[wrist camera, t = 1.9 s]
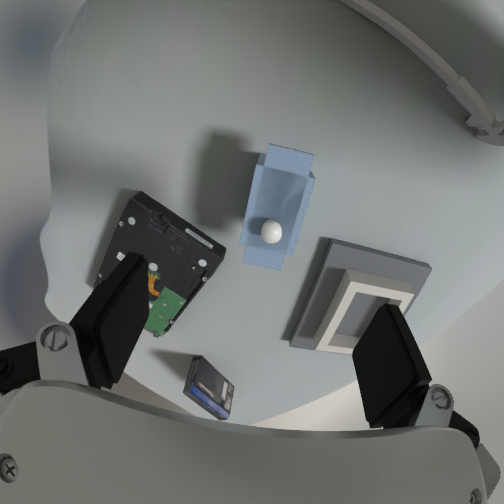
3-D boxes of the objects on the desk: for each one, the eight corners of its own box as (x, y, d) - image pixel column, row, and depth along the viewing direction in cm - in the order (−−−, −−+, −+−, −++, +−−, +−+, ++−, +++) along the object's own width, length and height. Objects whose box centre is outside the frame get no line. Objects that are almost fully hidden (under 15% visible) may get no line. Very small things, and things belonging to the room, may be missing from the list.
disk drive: (141, 187, 24) (100, 284, 31) (128, 196, 22) (89, 297, 28) (229, 245, 27) (167, 327, 33) (225, 259, 24) (161, 343, 31)
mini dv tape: (234, 386, 38) (229, 419, 33) (226, 387, 38) (220, 420, 33) (201, 355, 35) (191, 391, 29) (193, 357, 35) (182, 392, 30)
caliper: (480, 132, 18) (520, 145, 12) (475, 139, 18) (515, 153, 13) (322, -19, 13) (335, -51, 8) (315, -12, 14) (327, -45, 8)
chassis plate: (428, 264, 25) (440, 279, 22) (374, 351, 32) (379, 368, 29) (330, 238, 25) (336, 254, 22) (289, 340, 32) (289, 359, 29)
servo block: (311, 147, 21) (324, 160, 16) (285, 242, 25) (287, 279, 20) (264, 135, 21) (260, 144, 16) (242, 232, 25) (233, 268, 20)
